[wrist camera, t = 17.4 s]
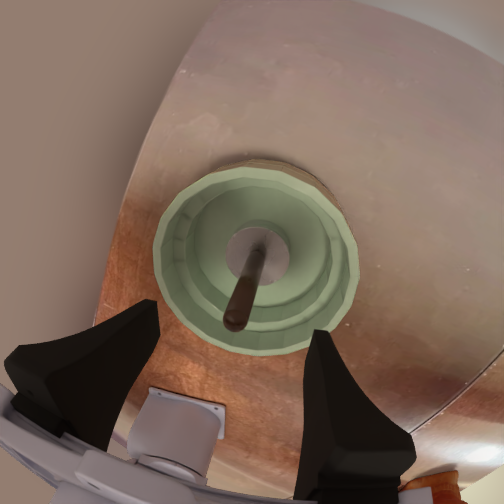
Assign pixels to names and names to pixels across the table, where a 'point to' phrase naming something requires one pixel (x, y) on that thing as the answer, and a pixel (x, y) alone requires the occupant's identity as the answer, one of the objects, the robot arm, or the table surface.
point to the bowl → (223, 281)
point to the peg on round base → (253, 266)
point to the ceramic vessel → (439, 487)
